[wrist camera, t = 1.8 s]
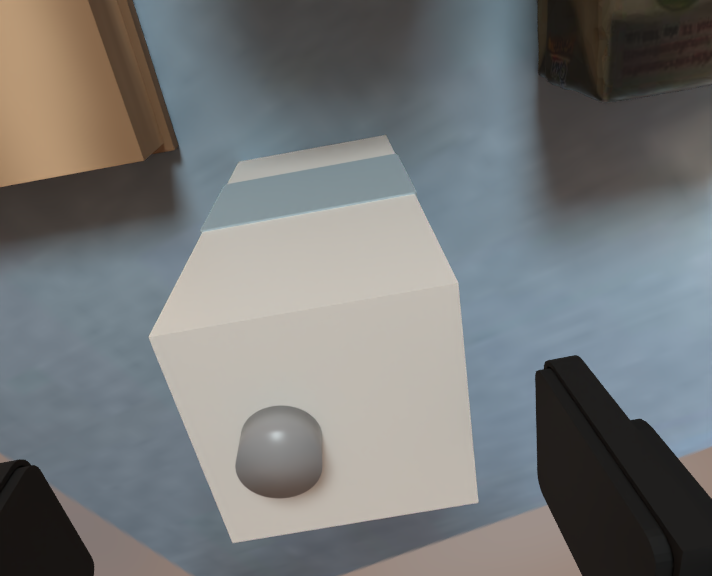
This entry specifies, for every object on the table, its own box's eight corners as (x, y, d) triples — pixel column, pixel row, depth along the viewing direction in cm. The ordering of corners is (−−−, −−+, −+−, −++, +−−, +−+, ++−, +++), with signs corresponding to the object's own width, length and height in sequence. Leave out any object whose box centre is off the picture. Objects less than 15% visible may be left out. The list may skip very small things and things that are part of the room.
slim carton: (386, 133, 20) (471, 302, 9) (405, 269, 23) (490, 535, 11) (236, 160, 20) (130, 361, 9) (272, 292, 23) (225, 578, 12)
